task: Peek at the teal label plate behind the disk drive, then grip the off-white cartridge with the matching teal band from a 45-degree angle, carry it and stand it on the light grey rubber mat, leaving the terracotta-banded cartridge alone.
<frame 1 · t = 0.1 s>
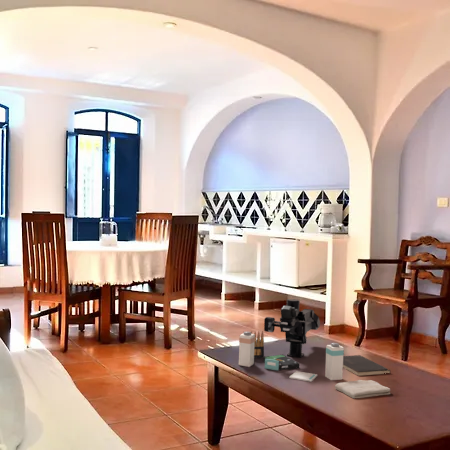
hand: (278, 330, 238), 17 cm above the table, tool horizontal, fingers open, 9 cm apart
label plate: (271, 369, 238), on the table
ammunition clip: (252, 357, 255), on the table
washcloth: (363, 393, 213), on the table
hardcover book: (359, 368, 246), on the table
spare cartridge: (333, 377, 229), on the table
disk drive: (280, 366, 245), on the table
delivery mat: (303, 377, 228), on the table
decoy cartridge: (246, 364, 243), on the table
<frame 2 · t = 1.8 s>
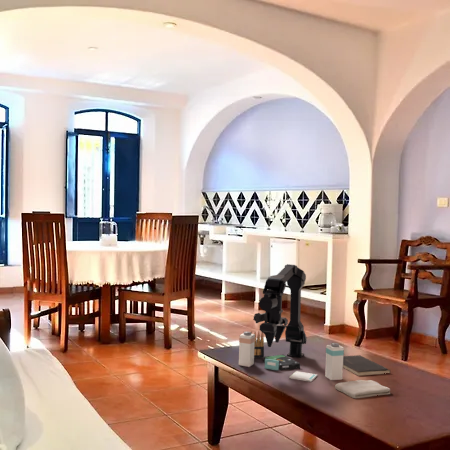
hand: (273, 344, 235), 11 cm above the table, tool pointing down, fingers open, 9 cm apart
nothing on the table moved.
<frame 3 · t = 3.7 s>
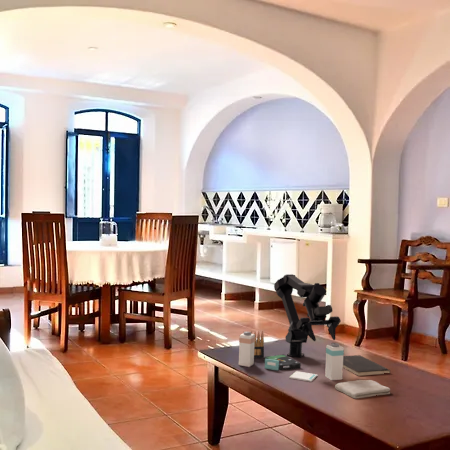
hand: (324, 340, 236), 13 cm above the table, tool tilted 45°, fingers open, 9 cm apart
nothing on the table moved.
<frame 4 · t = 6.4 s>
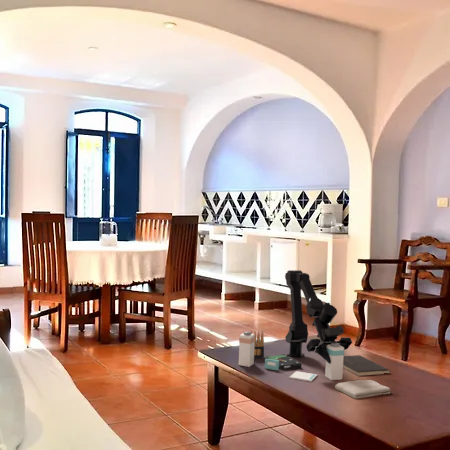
hand: (336, 362, 227), 7 cm above the table, tool tilted 45°, fingers closed on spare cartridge, 5 cm apart
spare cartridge: (333, 377, 229), on the table, touching gripper
everything else where it was.
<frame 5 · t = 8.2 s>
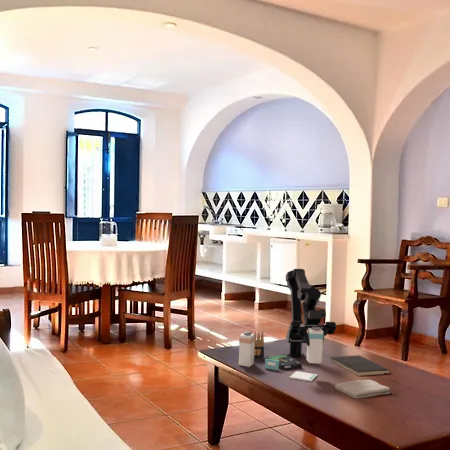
hand: (315, 345, 226), 13 cm above the table, tool tilted 45°, fingers closed on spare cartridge, 5 cm apart
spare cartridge: (313, 361, 228), point 7 cm above the table, touching gripper
when the fingers open (8 cm above the table, at t = 9.8 s): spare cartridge drops 1 cm, resting on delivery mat.
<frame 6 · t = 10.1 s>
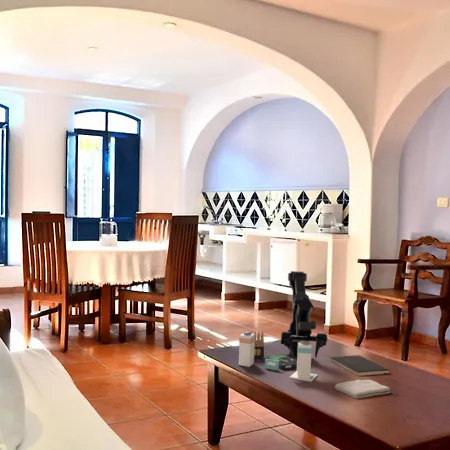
hand: (304, 357, 226), 9 cm above the table, tool tilted 45°, fingers open, 9 cm apart
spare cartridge: (303, 375, 228), point 1 cm above the table, touching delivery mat
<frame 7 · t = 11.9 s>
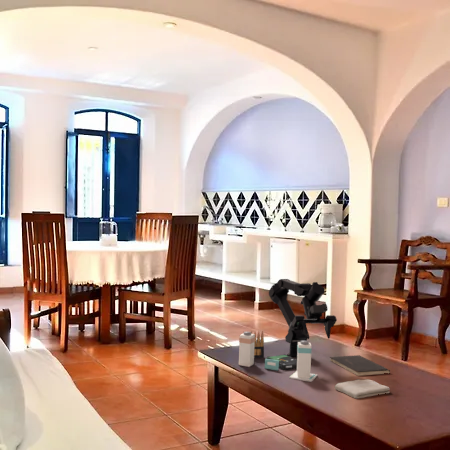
hand: (319, 338, 239), 13 cm above the table, tool tilted 45°, fingers open, 9 cm apart
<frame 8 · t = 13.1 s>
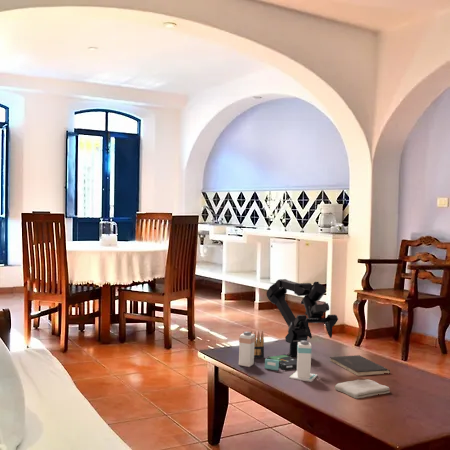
hand: (321, 337, 240), 14 cm above the table, tool tilted 45°, fingers open, 9 cm apart
at the end: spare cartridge inside the target area on the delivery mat (0.1 cm from its centre), point 0.6 cm above the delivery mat's base; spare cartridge tilted 0°; the gripper is holding nothing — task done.
